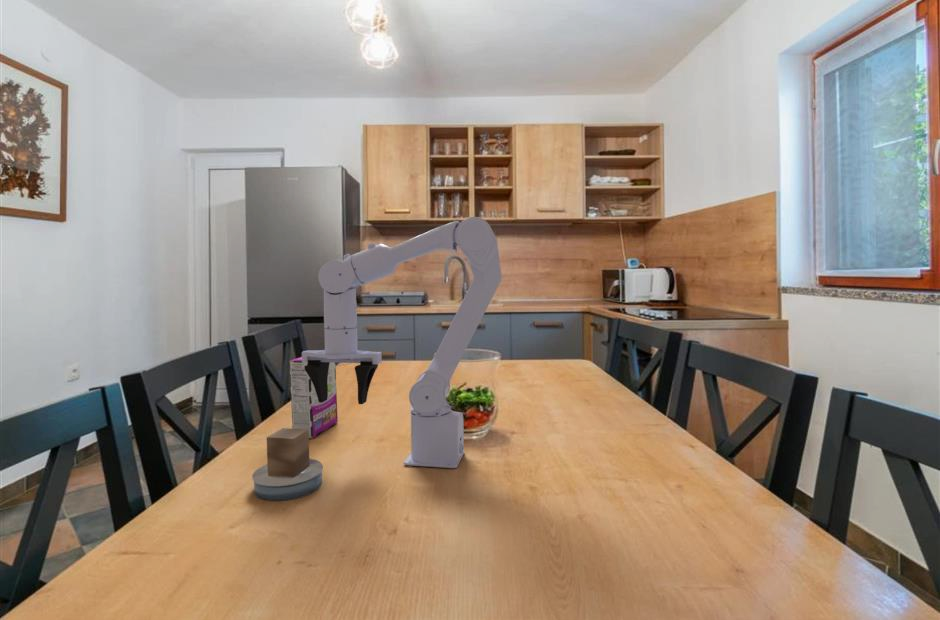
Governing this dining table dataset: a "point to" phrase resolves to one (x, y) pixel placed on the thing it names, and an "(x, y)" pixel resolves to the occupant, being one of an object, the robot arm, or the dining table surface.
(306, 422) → the candy bar box
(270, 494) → the biscuit tin
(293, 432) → the walnut block
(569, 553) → the dining table surface
